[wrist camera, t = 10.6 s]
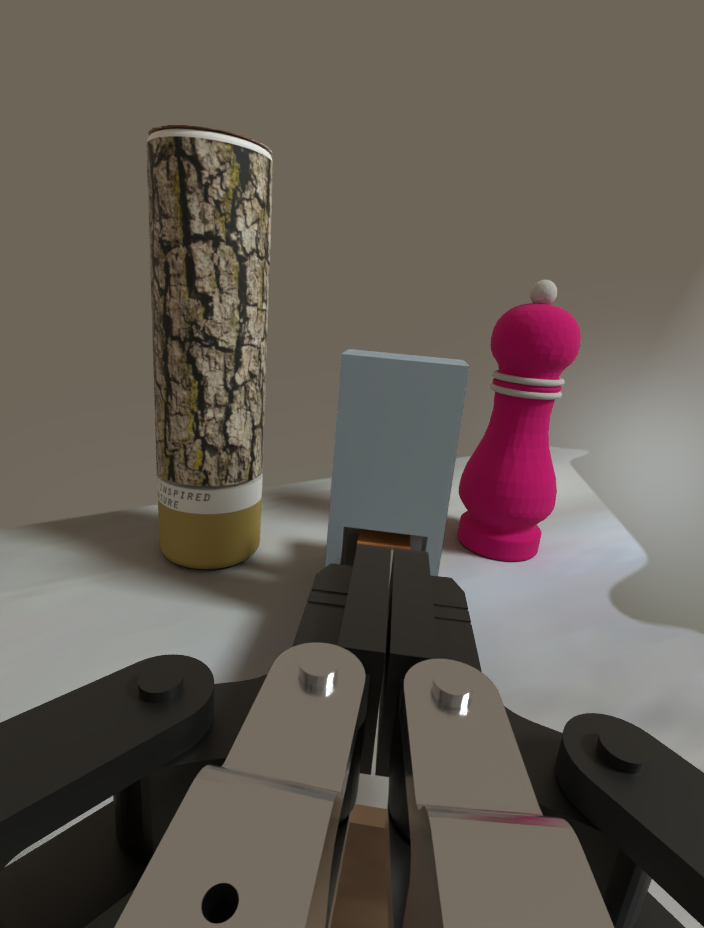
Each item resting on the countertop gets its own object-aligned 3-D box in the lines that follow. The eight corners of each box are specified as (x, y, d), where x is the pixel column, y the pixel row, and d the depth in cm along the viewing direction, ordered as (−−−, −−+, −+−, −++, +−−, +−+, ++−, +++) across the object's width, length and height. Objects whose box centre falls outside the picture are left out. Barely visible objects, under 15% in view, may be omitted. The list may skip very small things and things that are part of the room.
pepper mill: (507, 522, 45) (552, 285, 39) (564, 560, 39) (628, 284, 33) (435, 527, 43) (472, 275, 37) (483, 569, 36) (537, 273, 31)
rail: (231, 942, 14) (235, 746, 12) (341, 552, 37) (348, 461, 35) (447, 983, 14) (489, 786, 12) (423, 563, 37) (436, 471, 35)
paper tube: (236, 581, 32) (245, 127, 25) (138, 563, 33) (118, 123, 26) (273, 537, 39) (289, 165, 31) (190, 523, 40) (186, 160, 32)
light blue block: (321, 612, 28) (341, 354, 24) (329, 584, 31) (348, 349, 27) (430, 626, 28) (469, 366, 24) (428, 597, 31) (463, 360, 26)
